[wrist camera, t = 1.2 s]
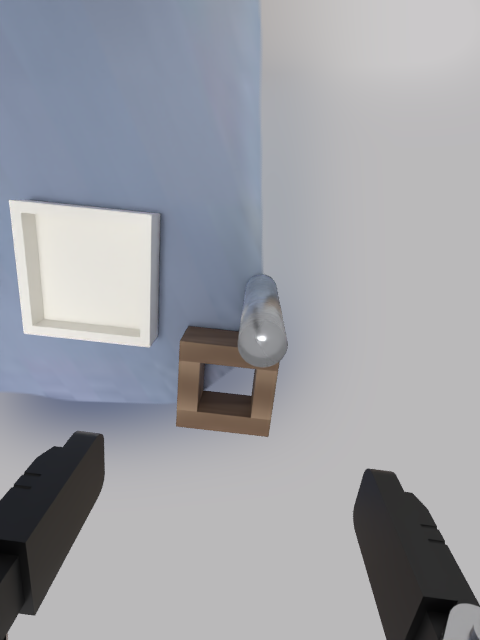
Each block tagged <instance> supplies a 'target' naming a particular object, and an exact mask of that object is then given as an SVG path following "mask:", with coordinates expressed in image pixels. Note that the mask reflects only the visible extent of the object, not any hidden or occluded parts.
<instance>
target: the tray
mask: <svg viewBox="0 0 480 640" xmlns="http://www.w3.org/2000/svg"><path fill="white" fill-rule="evenodd" d="M9 205H10V214H11V223H12V232H13V241H14V249H15V258H16V267H17V276H18V285H19V294H20V303H21V312H22V320H23V329H24V334H32V335H41V336H50V337H59V338H68V339H78V340H87V341H96V342H105V343H114V344H123V345H132V346H141V347H150V346H151V345H152V344H153V342H154V341H155V340H156V338H157V337H158V305H159V259H160V214H159V213H150V212H140V211H130V210H121V209H111V208H101V207H92V206H82V205H73V204H63V203H53V202H44V201H34V200H9Z"/></svg>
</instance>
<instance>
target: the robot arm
mask: <svg viewBox="0 0 480 640" xmlns="http://www.w3.org/2000/svg"><path fill="white" fill-rule="evenodd" d="M104 470H105V469H104V437H103V435H102V434H99V433H90V432H83V431H76V432H75V433H74V434H73V435H72V436H71V437H70V439H69V440H68V441H67V443H66V444H65V445H64V446H63V447H56V446H54V447H52V448H51V449H49V450H48V451H46V452H45V453H43V454H42V455H40V456H39V457H37V458H36V459H35V460H34V462H33V463H32V464H31V465H30V466H29V468H28V469H27V470H26V471H25V473H24V475H22V476H21V477H20V478H19V479H18V480H17V482H16V483H15V484H14V487H13V488H11V489H10V490H9V491H8V492H7V493H6V494H5V496H4V497H3V498H2V499H1V500H0V640H8V634H7V633H8V631H9V629H10V627H11V626H12V624H13V622H14V620H15V618H16V617H17V615H18V613H20V614H28V615H35V614H36V612H37V611H38V608H39V607H40V605H41V603H42V601H43V599H44V597H45V596H46V594H47V592H48V590H49V587H50V586H51V584H52V582H53V580H54V579H55V577H56V575H57V573H58V571H59V569H60V567H61V566H62V564H63V562H64V560H65V558H66V556H67V554H68V553H69V550H70V549H71V547H72V545H73V543H74V541H75V539H76V538H77V536H78V534H79V532H80V530H81V528H82V526H83V524H84V523H85V521H86V519H87V517H88V515H89V513H90V511H91V509H92V508H93V506H94V504H95V502H96V500H97V498H98V496H99V494H100V492H101V489H102V486H103V482H104V475H105V471H104ZM353 521H354V529H355V532H356V536H357V539H358V543H359V546H360V549H361V553H362V556H363V560H364V564H365V567H366V570H367V574H368V577H369V581H370V584H371V588H372V591H373V594H374V598H375V601H376V605H377V608H378V612H379V615H380V619H381V622H382V625H383V629H384V632H385V636H386V639H387V640H480V605H479V603H478V601H477V599H476V598H475V596H474V594H473V592H472V590H471V588H470V587H469V585H468V583H467V581H466V579H465V577H464V575H463V574H462V572H461V570H460V568H459V566H458V564H457V563H456V561H455V559H454V557H453V555H452V553H451V551H450V550H449V548H448V546H447V545H445V540H444V539H443V537H442V535H441V533H440V531H439V530H437V526H436V524H435V522H434V520H433V518H432V517H431V515H430V513H429V511H428V509H427V508H426V507H425V506H424V505H423V504H422V503H421V502H420V501H419V500H418V499H417V497H416V496H415V495H414V494H413V493H409V492H404V490H403V488H402V486H401V484H400V482H399V480H398V478H397V476H396V475H395V473H394V472H391V471H383V470H375V469H366V470H365V472H364V474H363V478H362V481H361V485H360V488H359V492H358V495H357V498H356V502H355V505H354V511H353Z"/></svg>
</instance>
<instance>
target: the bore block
mask: <svg viewBox="0 0 480 640" xmlns="http://www.w3.org/2000/svg"><path fill="white" fill-rule="evenodd" d="M238 337H239V332H238V331H229V330H220V329H211V328H201V327H192V326H188V328H187V329H186V331H185V333H184V335H183V337H182V338H181V340H180V351H179V374H178V397H177V419H176V426H178V427H186V428H195V429H204V430H213V431H222V432H230V433H239V434H248V435H257V436H265V437H268V436H269V429H270V422H271V415H272V409H273V402H274V395H275V388H276V381H277V374H278V368H279V362H278V363H276V364H275V365H272V366H269V367H256V366H253V365H251V364H249V363H247V362H246V361H245V360H244V359H243V358H242V357H241V355H240V353H239V350H238ZM205 363H206V364H215V365H224V366H233V367H243V368H251V369H255V373H254V381H253V389H252V396H247V395H238V394H228V393H220V392H211V391H203V384H204V370H205Z"/></svg>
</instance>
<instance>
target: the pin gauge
mask: <svg viewBox="0 0 480 640" xmlns="http://www.w3.org/2000/svg"><path fill="white" fill-rule="evenodd" d="M287 346H288V343H287V337H286V332H285V327H284V322H283V317H282V312H281V307H280V302H279V297H278V292H277V287H276V284H275V282H274V280H273V279H272V278H271V277H269V276H267V275H264V274H258V275H255V276H253V277H252V278H251V279H250V280H249V281H248V282H247V285H246V290H245V297H244V303H243V310H242V317H241V323H240V330H239V337H238V350H239V353H240V355H241V357H242V358H243V359H244V360H245V361H246V362H247V363H249V364H251V365H253V366H256V367H269V366H272V365H275V364H276V363H278V362H279V361H280V360H281V359H282V358H283V357H284V355H285V353H286V351H287Z"/></svg>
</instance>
